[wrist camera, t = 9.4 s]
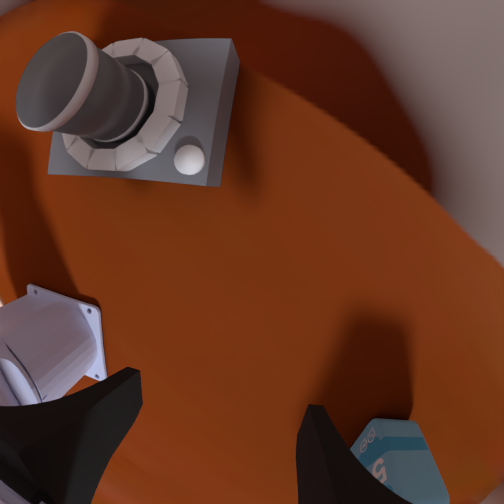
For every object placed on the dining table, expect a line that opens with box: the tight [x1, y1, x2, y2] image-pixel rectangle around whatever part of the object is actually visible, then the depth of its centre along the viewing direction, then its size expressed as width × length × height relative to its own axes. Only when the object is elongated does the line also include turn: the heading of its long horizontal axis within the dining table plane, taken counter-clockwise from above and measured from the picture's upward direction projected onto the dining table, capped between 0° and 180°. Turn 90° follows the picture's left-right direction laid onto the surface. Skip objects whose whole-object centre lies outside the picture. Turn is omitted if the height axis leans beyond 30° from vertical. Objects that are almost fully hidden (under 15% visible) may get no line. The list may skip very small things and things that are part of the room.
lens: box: [16, 32, 155, 144], centre depth 11 cm, size 5×5×7 cm
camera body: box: [48, 38, 240, 187], centre depth 16 cm, size 12×9×5 cm
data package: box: [350, 418, 449, 504], centre depth 17 cm, size 12×4×12 cm, turn 165°
